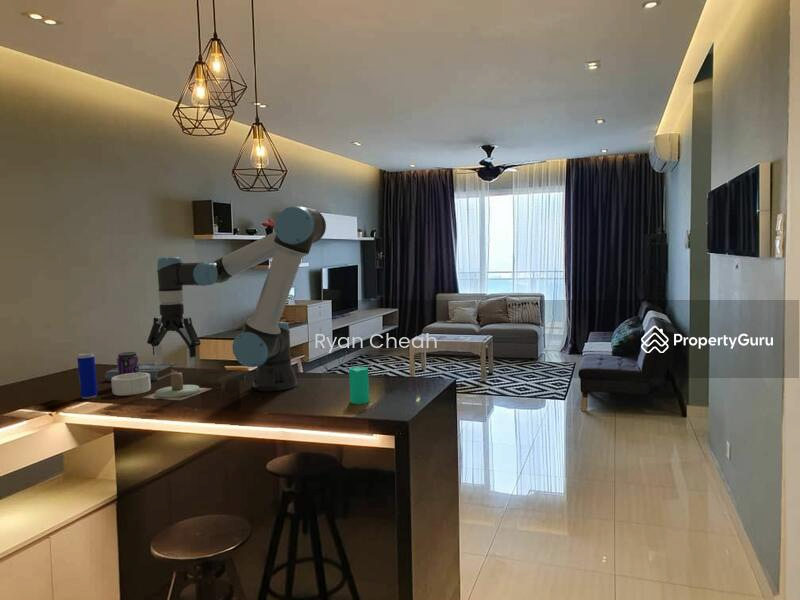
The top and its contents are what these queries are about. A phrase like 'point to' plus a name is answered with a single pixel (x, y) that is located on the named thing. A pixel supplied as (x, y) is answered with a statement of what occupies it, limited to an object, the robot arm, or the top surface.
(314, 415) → the top surface
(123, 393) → the bowl
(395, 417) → the top surface
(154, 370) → the book
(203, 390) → the trivet
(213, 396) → the top surface
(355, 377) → the candle
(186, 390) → the lid
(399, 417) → the top surface
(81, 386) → the beverage can
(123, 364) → the beverage can
